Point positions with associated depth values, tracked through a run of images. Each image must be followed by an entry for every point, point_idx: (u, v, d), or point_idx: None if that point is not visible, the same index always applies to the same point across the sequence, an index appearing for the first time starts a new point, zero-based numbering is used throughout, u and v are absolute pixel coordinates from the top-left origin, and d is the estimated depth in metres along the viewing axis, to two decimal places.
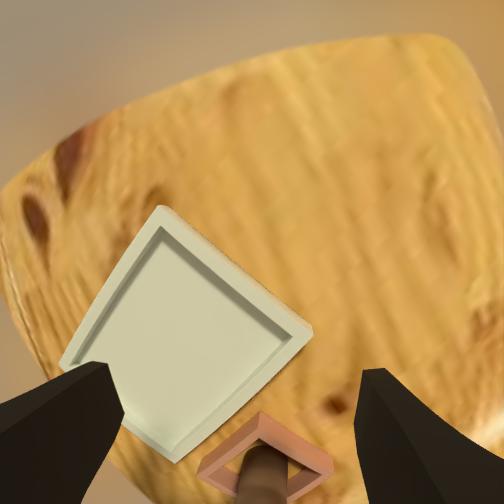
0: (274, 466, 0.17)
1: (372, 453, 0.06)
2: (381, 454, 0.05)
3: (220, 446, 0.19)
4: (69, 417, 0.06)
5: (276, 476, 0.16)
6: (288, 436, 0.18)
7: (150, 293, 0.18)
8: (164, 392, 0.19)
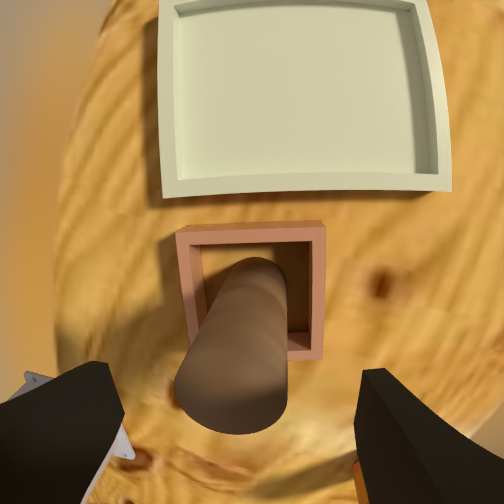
0: (285, 293, 0.15)
1: (372, 453, 0.06)
2: (381, 454, 0.05)
3: (233, 224, 0.16)
4: (69, 417, 0.06)
5: (286, 305, 0.14)
6: None
7: (346, 27, 0.12)
8: (250, 109, 0.14)
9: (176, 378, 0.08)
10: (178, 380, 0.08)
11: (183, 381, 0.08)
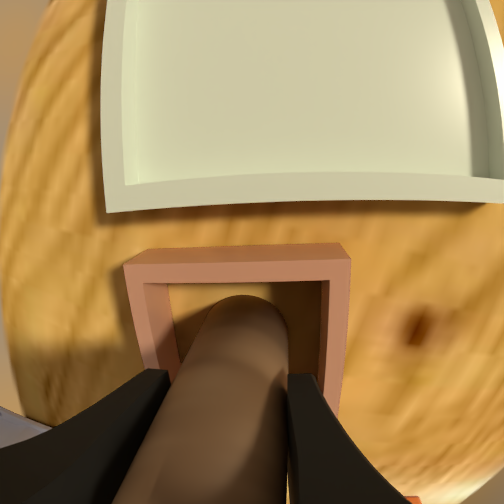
0: (286, 355, 0.09)
1: (289, 459, 0.06)
2: (291, 462, 0.05)
3: (210, 249, 0.11)
4: (136, 433, 0.06)
5: None
6: None
7: None
8: (235, 78, 0.09)
9: None
10: None
11: None
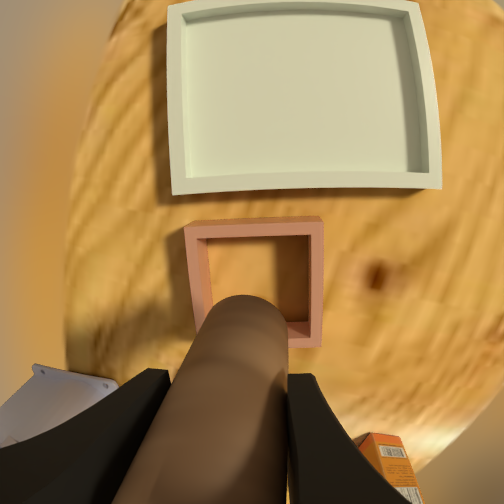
0: (286, 355, 0.09)
1: (289, 459, 0.06)
2: (291, 462, 0.05)
3: (237, 219, 0.17)
4: (136, 433, 0.06)
5: None
6: None
7: (343, 35, 0.14)
8: (254, 113, 0.15)
9: None
10: None
11: None
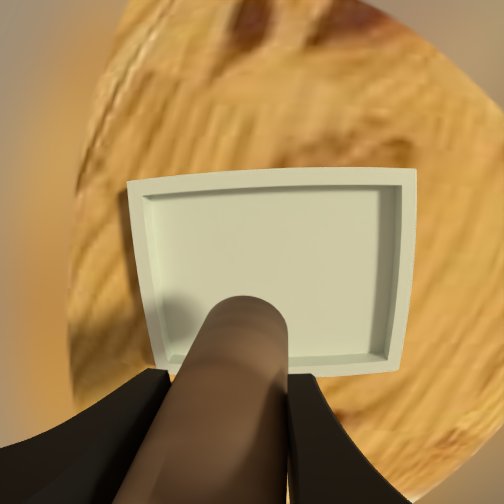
0: (286, 356, 0.09)
1: (289, 459, 0.06)
2: (291, 462, 0.05)
3: None
4: (136, 433, 0.06)
5: None
6: None
7: (321, 218, 0.15)
8: None
9: None
10: None
11: None
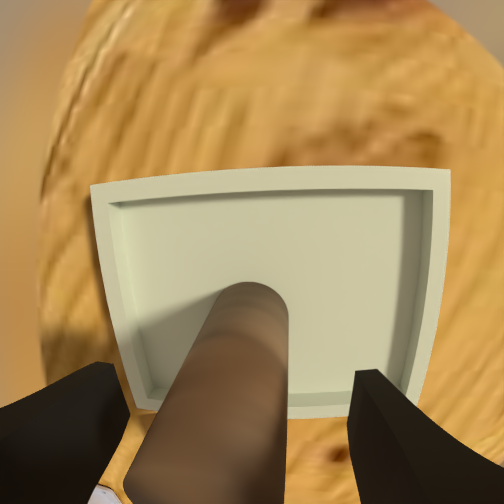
0: (286, 334, 0.11)
1: (364, 454, 0.06)
2: (372, 455, 0.05)
3: None
4: (75, 419, 0.06)
5: (287, 352, 0.10)
6: None
7: (331, 231, 0.12)
8: None
9: (124, 483, 0.05)
10: (128, 486, 0.05)
11: (134, 488, 0.05)
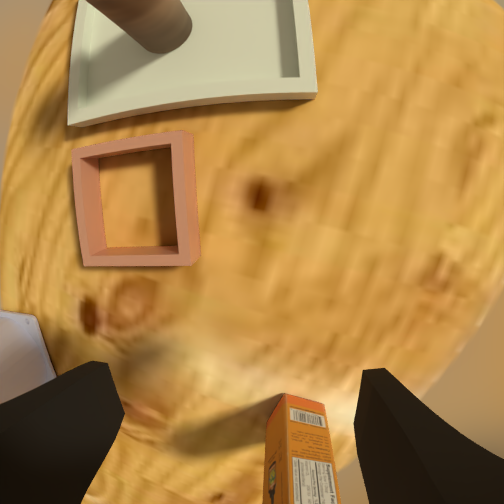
0: (181, 3, 0.12)
1: (372, 453, 0.06)
2: (381, 454, 0.05)
3: None
4: (69, 417, 0.06)
5: None
6: (191, 178, 0.16)
7: None
8: (137, 51, 0.15)
9: None
10: None
11: None
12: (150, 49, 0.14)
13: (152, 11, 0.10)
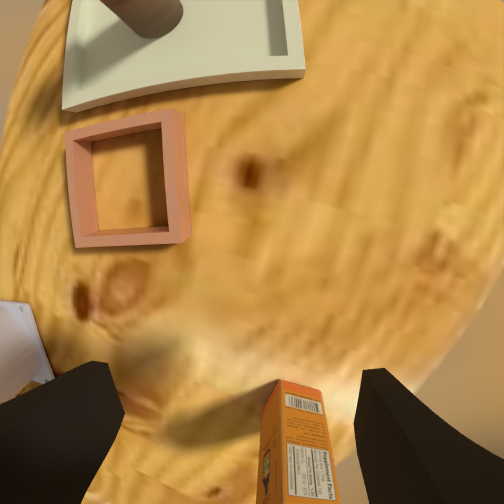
0: None
1: (372, 453, 0.06)
2: (381, 454, 0.05)
3: None
4: (69, 417, 0.06)
5: None
6: (181, 157, 0.16)
7: None
8: (130, 37, 0.14)
9: None
10: None
11: None
12: (142, 34, 0.14)
13: None
